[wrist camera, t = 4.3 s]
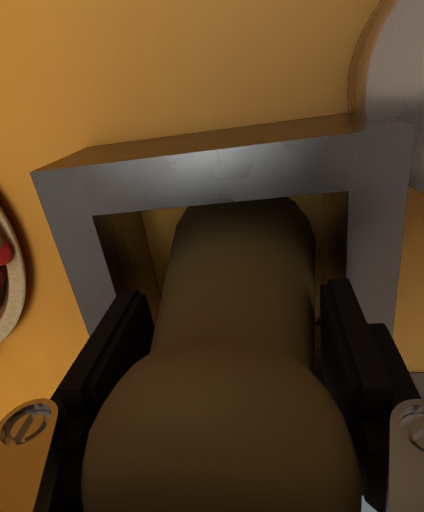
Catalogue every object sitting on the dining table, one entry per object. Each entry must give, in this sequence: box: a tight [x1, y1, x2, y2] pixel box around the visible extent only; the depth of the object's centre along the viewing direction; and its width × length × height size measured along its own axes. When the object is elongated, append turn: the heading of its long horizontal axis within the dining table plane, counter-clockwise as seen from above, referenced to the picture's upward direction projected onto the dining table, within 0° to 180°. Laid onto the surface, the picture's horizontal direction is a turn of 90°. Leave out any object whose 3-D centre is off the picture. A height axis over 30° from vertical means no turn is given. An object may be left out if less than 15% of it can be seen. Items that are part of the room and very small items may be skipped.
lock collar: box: [30, 0, 424, 387], centre depth 12 cm, size 17×15×4 cm
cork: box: [81, 197, 362, 512], centre depth 10 cm, size 6×6×11 cm
